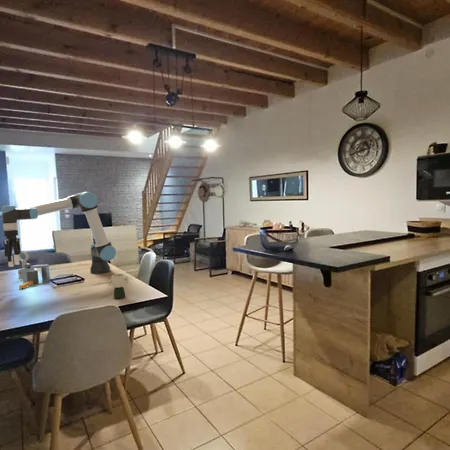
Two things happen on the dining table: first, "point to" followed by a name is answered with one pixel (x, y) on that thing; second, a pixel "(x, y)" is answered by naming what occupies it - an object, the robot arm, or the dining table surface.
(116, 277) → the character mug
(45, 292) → the dining table surface
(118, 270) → the dining table surface
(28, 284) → the plug
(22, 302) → the dining table surface
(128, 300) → the dining table surface
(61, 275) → the felt mat
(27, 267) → the housing
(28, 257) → the engine component
